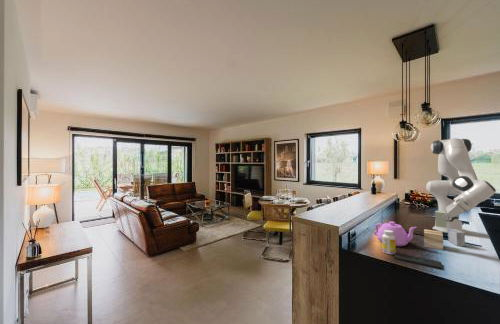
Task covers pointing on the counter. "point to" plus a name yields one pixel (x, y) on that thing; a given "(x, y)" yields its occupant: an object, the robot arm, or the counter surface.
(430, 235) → the tower top block
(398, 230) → the teapot
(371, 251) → the counter surface
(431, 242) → the tower base block
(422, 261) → the smart home device
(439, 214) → the sage block
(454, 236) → the medicine box
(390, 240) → the supplement bottle
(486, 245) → the counter surface
